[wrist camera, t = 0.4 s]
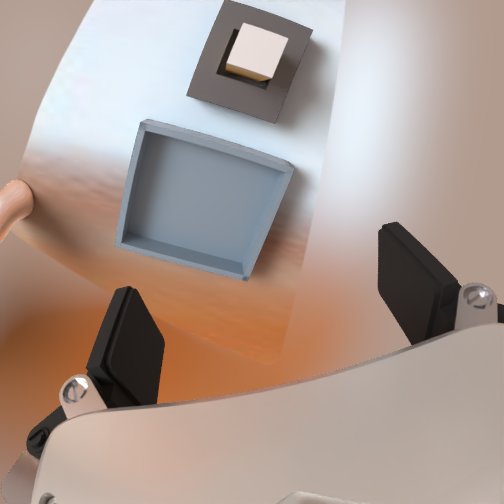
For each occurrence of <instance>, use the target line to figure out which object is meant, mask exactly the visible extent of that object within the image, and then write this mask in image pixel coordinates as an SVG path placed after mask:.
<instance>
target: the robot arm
mask: <svg viewBox="0 0 504 504" xmlns="http://www.w3.org/2000/svg"><path fill="white" fill-rule="evenodd" d="M378 290H379V294H380V295H381V297H382V298H383V300H384V301H385V303H386V304H387V306H388V308H389V309H390V311H391V312H392V314H393V315H394V317H395V319H396V320H397V322H398V323H399V325H400V327H401V328H402V330H403V331H404V333H405V335H406V336H407V338H408V339H409V341H410V343H411V345H412V346H409V347H406V348H403V349H401V350H398V351H395V352H392V353H389V354H387V355H383V356H381V357H378V358H374V359H371V360H368V361H365V362H362V363H359V364H356V365H352V366H349V367H346V368H342V369H339V370H335V371H332V372H328V373H324V374H320V375H317V376H313V377H310V378H305V379H301V380H297V381H293V382H289V383H284V384H280V385H276V386H271V387H266V388H261V389H256V390H251V391H246V392H240V393H235V394H229V395H223V396H217V397H211V398H204V399H197V400H189V401H181V402H172V403H163V404H157V397H158V389H159V382H160V374H161V367H162V360H163V353H164V347H165V342H164V338H163V336H162V334H161V333H160V331H159V329H158V328H157V326H156V324H155V322H154V320H153V318H152V317H151V315H150V313H149V311H148V309H147V307H146V306H145V304H144V302H143V300H142V298H141V296H140V294H139V292H138V291H137V289H133V288H132V287H131V286H127V287H123V288H119V289H116V291H115V293H114V295H113V298H112V300H111V303H110V305H109V308H108V310H107V312H106V315H105V317H104V320H103V322H102V325H101V328H100V330H99V333H98V336H97V338H96V341H95V344H94V346H93V349H92V352H91V355H90V357H89V360H88V363H87V366H86V369H87V370H88V372H87V375H83V374H80V375H75V376H73V377H71V378H70V379H69V380H67V381H66V382H65V384H64V385H63V386H62V388H61V391H60V395H59V398H60V402H61V406H60V407H58V408H57V409H56V410H55V411H53V412H52V413H51V414H50V415H49V416H47V417H46V418H45V419H44V420H43V421H41V422H40V423H39V424H38V425H37V426H36V427H34V428H33V429H32V430H31V432H30V433H29V435H28V438H27V450H28V451H27V452H25V451H23V452H22V453H21V455H20V456H19V458H18V459H17V460H16V462H15V463H14V465H13V466H12V468H11V469H10V471H9V472H8V474H7V475H6V476H5V478H4V479H3V481H2V484H1V494H2V496H3V498H4V500H5V501H6V503H7V504H504V305H502V304H498V303H497V297H496V295H495V293H494V292H493V290H492V289H491V288H489V287H488V286H486V285H484V284H481V283H468V284H466V285H464V286H463V287H461V285H459V283H458V280H456V278H455V277H454V276H453V275H452V274H451V273H450V272H449V271H448V270H447V269H446V268H445V267H444V266H443V265H442V264H441V263H440V262H439V261H438V260H437V259H436V258H435V257H434V256H433V255H432V254H431V253H430V252H429V251H428V250H427V249H426V248H425V247H424V246H423V245H422V244H421V243H420V242H419V241H418V240H417V239H415V238H414V237H413V236H412V235H411V234H410V233H409V232H408V231H407V230H406V229H405V228H404V227H403V226H402V225H400V224H399V223H398V222H393V223H388V224H384V225H383V226H382V229H380V230H379V232H378Z"/></svg>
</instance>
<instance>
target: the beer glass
mask: <svg viewBox="0 0 504 504" xmlns="http://www.w3.org/2000/svg"><path fill="white" fill-rule="evenodd" d="M33 205H34V199H33V194H32V191H31V189H30V188H29V186H28V185H27V184H26V183H25V182H23V181H21V180H13V181H11V182H9V183H8V184H7V185H6V186H5V187H4V188H3V189H2V190H1V191H0V243H1V242H2V241H3V239H4V238H5V236H6V235H7V233H8V232H9V231H10V229H11V228H12V226H13V225H14V224H15V223H16V222H17V221H19V220H21V219H23V218H25V217H27V216H28V215H29V214H30V213H31V212H32V209H33Z"/></svg>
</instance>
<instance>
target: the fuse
mask: <svg viewBox="0 0 504 504" xmlns="http://www.w3.org/2000/svg"><path fill="white" fill-rule="evenodd" d="M287 41H288V38H286V37H283V36H281V35H278V34H275V33H273V32H270V31H267V30H264V29H261V28H259V27H256V26H253V25H249V24H246V23H243V24H242V27H241V29H240V31H239V34H238V36H237V38H236V41H235V43H234V46H233V48H232V51H231V53H230V56H229V58H228V61H227V63H226V72H229V73H232V74H235V75H238V76H242V77H245V78H248V79H251V80H254V81H256V82H261V81H264V80H267V79H271V78H272V77H273V75H274V72H275V70H276V67H277V65H278V62H279V60H280V58H281V55H282V53H283V50H284V48H285V46H286V43H287Z"/></svg>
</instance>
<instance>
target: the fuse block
mask: <svg viewBox="0 0 504 504" xmlns="http://www.w3.org/2000/svg"><path fill="white" fill-rule="evenodd" d="M243 23H246V24H249V25H253V26H256V27H259V28H261V29H264V30H267V31H270V32H273V33H275V34H278V35H281V36H283V37H286V38H288V41H287V43H286V46H285V48H284V50H283V53H282V55H281V58H280V60H279V62H278V65H277V67H276V70H275V72H274V75H273V77H272V78H271V79H267V80H264V81H261V82H256V81H254V80H251V79H248V78H245V77H242V76H238V75H235V74H232V73H229V72H226V63H227V61H228V58H229V56H230V53H231V51H232V48H233V46H234V43H235V41H236V38H237V36H238V34H239V31H240V29H241V27H242V24H243ZM312 32H313V30H312V29H310V28H307V27H305V26H303V25H300V24H298V23H295V22H293V21H290V20H288V19H285V18H283V17H280V16H277V15H275V14H272V13H269V12H266V11H263V10H260V9H257V8H254V7H251V6H248V5H245V4H241V3H238V2H234V1H231V0H224V2H223V4H222V7H221V9H220V11H219V13H218V15H217V18H216V20H215V22H214V25H213V27H212V29H211V32H210V34H209V36H208V39H207V41H206V44H205V46H204V49H203V51H202V54H201V56H200V59H199V62H198V64H197V67H196V69H195V72H194V75H193V78H192V80H191V83H190V86H189V89H188V92H187V95H186V96H189V97H192V98H196V99H200V100H203V101H207V102H210V103H214V104H217V105H220V106H223V107H227V108H230V109H233V110H236V111H239V112H242V113H245V114H248V115H251V116H254V117H257V118H260V119H263V120H266V121H268V122H271V123H274V124H275V122H276V120H277V117H278V115H279V112H280V110H281V107H282V105H283V102H284V100H285V97H286V95H287V92H288V90H289V87H290V85H291V82H292V80H293V77H294V75H295V72H296V70H297V68H298V65H299V63H300V60H301V58H302V55H303V53H304V51H305V48H306V46H307V43H308V41H309V39H310V36H311V34H312Z"/></svg>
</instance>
